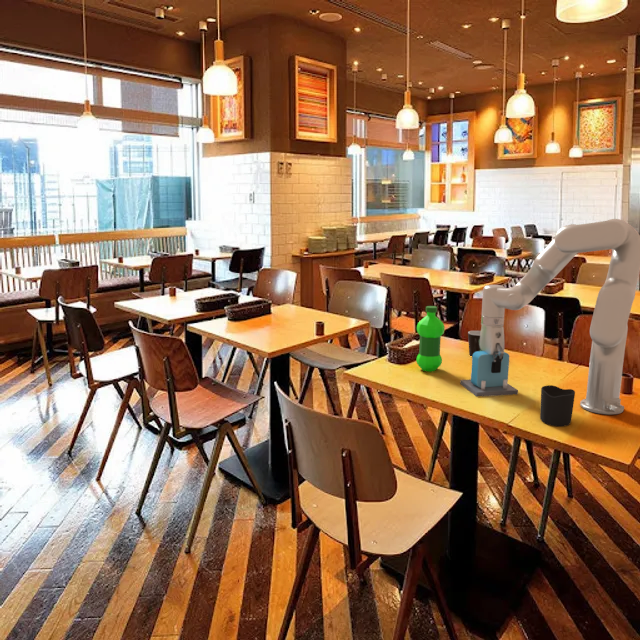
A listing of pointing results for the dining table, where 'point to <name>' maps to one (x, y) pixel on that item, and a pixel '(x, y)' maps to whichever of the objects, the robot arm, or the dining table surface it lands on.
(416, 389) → the dining table surface
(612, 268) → the robot arm
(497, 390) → the pin tray
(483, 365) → the blue rounded block
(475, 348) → the coffee mug
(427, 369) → the plastic bottle
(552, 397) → the pen holder
